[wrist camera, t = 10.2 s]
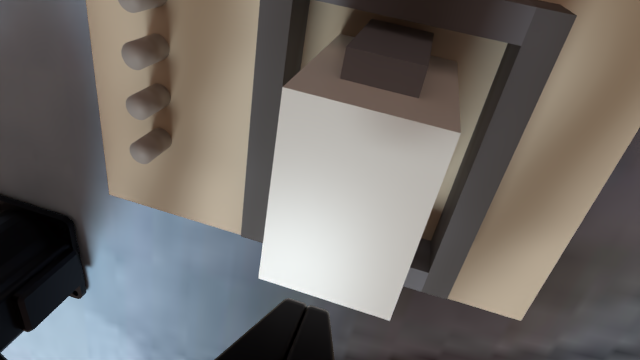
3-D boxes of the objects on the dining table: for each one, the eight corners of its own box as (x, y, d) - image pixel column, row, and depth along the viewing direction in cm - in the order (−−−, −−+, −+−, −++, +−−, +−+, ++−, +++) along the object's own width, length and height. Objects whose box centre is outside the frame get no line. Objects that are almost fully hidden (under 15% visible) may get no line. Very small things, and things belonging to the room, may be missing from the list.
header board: (128, 180, 23) (80, 217, 20) (98, -153, 15) (13, -173, 12) (516, 296, 20) (528, 359, 17) (710, -39, 12) (790, -30, 10)
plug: (312, 180, 18) (258, 278, 13) (344, 9, 14) (287, 51, 9) (407, 207, 17) (389, 320, 12) (465, 36, 14) (474, 98, 9)
